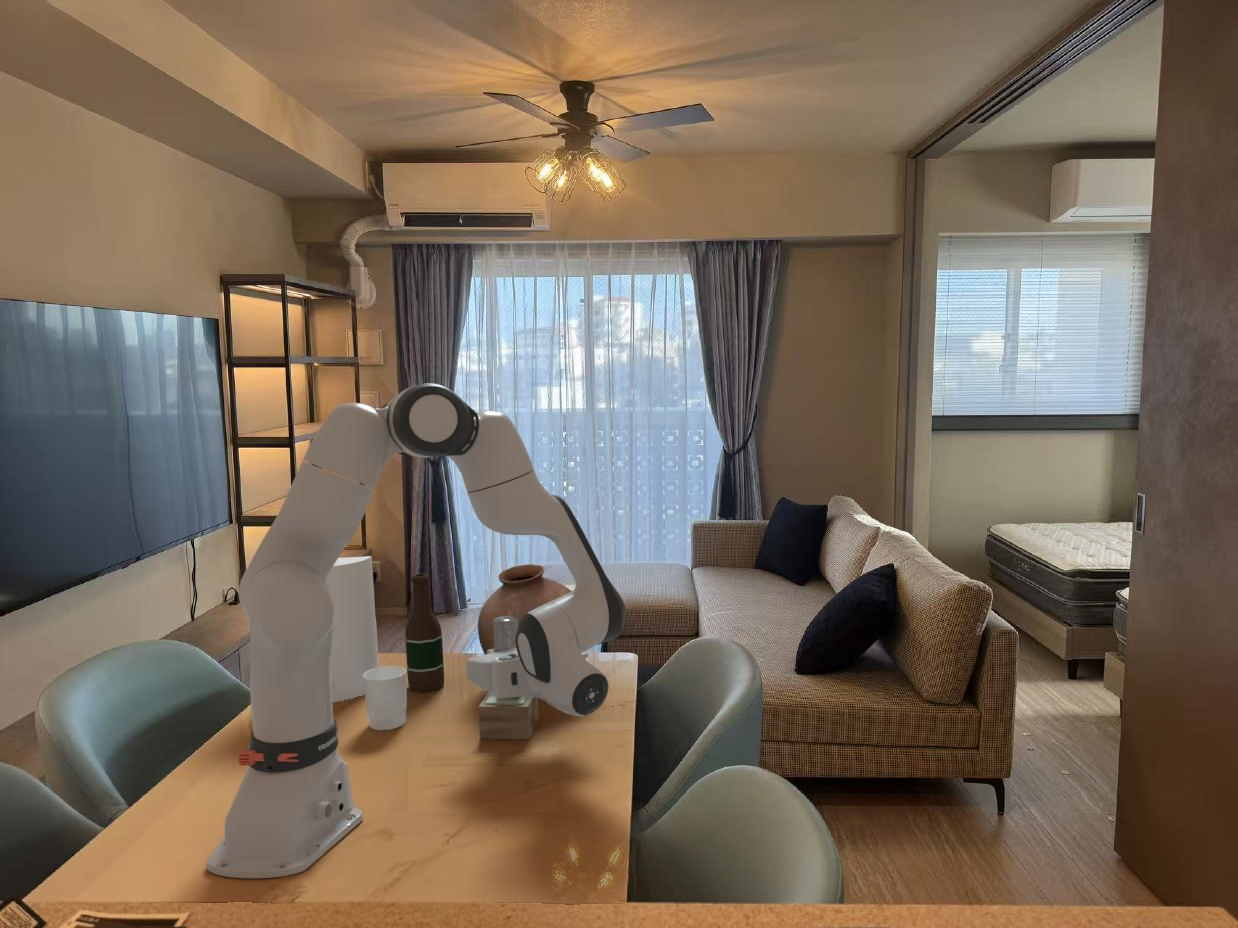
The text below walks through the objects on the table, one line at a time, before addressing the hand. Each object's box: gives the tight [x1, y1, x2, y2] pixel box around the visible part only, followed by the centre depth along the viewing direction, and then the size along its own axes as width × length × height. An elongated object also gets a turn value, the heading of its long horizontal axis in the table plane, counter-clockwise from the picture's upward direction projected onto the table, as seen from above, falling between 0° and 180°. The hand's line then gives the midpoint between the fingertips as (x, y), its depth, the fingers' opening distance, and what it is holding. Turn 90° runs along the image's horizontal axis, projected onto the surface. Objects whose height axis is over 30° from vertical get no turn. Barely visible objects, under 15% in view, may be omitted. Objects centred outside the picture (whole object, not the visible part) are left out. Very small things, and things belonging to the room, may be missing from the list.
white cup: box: [363, 665, 408, 732], centre depth 165 cm, size 8×8×10 cm
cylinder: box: [325, 555, 380, 703], centre depth 184 cm, size 17×17×28 cm
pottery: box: [477, 563, 587, 655], centre depth 183 cm, size 23×23×25 cm
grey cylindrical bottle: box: [493, 616, 518, 651], centre depth 159 cm, size 5×5×13 cm
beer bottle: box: [404, 573, 445, 693], centre depth 184 cm, size 8×8×24 cm
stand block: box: [477, 691, 540, 740], centre depth 161 cm, size 9×9×6 cm
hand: (504, 650), depth 160 cm, fingers closed on grey cylindrical bottle, 4 cm apart
